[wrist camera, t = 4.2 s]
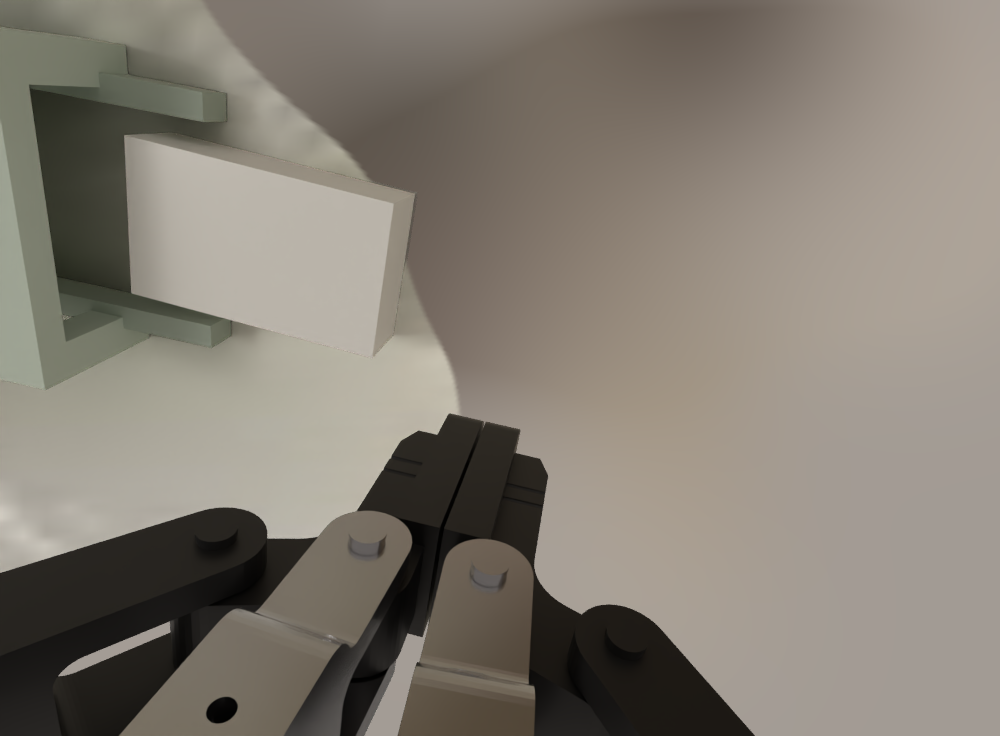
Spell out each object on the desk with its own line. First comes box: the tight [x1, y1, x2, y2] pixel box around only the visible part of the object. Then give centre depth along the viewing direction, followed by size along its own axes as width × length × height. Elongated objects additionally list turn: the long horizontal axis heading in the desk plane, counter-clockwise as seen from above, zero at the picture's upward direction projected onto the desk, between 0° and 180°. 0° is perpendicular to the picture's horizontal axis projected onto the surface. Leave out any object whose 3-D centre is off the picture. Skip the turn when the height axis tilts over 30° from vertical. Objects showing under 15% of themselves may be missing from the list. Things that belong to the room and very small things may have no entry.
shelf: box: [0, 27, 231, 390], centre depth 23 cm, size 12×13×6 cm
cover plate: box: [124, 132, 418, 358], centre depth 24 cm, size 6×10×3 cm, turn 78°
